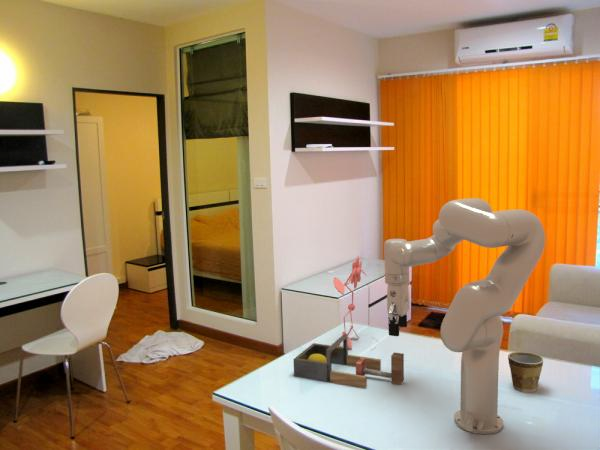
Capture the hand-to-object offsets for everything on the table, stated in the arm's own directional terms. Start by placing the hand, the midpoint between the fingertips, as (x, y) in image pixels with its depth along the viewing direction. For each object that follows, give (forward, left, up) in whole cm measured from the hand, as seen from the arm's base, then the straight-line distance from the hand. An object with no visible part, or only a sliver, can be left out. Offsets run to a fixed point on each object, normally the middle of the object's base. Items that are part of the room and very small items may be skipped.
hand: (398, 331), depth 166 cm
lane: (0, +14, -17) cm, 22 cm away
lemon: (0, +24, -15) cm, 28 cm away
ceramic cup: (+12, -37, -18) cm, 42 cm away
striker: (0, +6, -17) cm, 18 cm away
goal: (0, +26, -17) cm, 32 cm away
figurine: (+28, +23, -18) cm, 41 cm away
